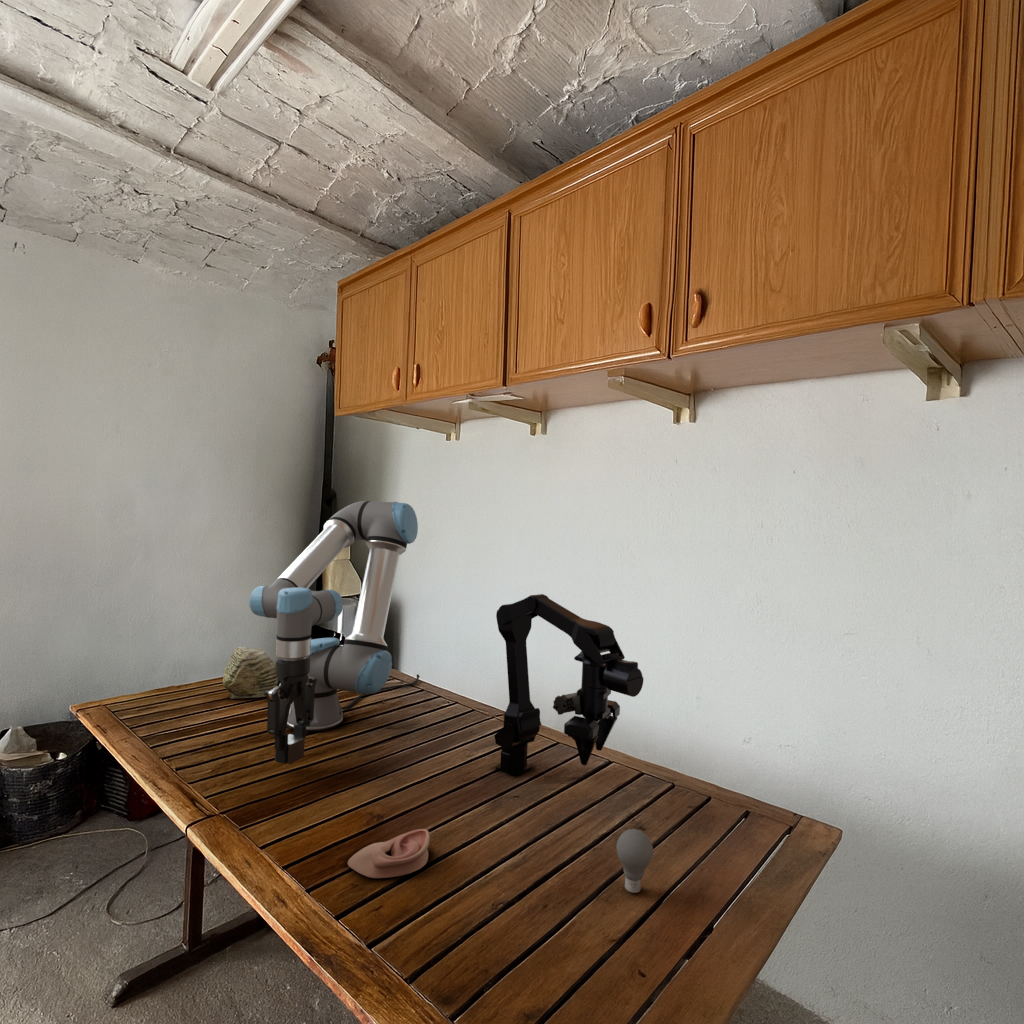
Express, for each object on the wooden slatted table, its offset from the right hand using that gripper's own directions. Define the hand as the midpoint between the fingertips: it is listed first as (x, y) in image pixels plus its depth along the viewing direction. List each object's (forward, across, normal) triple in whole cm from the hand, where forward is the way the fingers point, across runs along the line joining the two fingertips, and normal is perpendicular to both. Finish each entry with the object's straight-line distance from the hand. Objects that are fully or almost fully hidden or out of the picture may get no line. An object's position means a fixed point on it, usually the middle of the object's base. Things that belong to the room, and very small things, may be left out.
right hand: (591, 757), depth 135 cm
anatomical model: (+10, +39, -23) cm, 46 cm away
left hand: (+7, +23, -64) cm, 68 cm away
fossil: (+10, -11, -115) cm, 116 cm away
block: (+7, +23, -64) cm, 69 cm away
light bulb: (+10, +25, +17) cm, 32 cm away
